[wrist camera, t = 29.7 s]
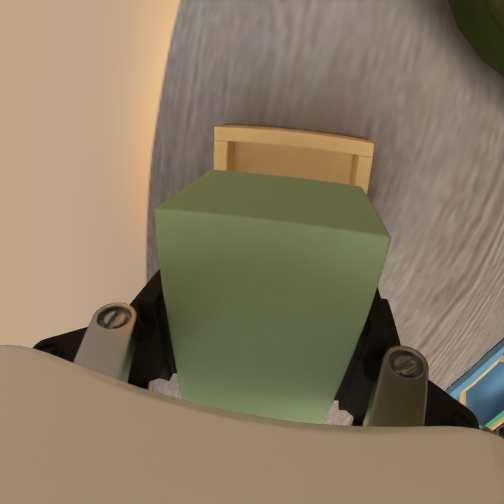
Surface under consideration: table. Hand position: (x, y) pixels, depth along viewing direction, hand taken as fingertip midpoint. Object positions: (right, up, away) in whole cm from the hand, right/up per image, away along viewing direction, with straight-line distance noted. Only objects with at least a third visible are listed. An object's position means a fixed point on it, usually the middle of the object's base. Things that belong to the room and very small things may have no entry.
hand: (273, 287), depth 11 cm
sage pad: (0, 0, 0) cm, 0 cm away
